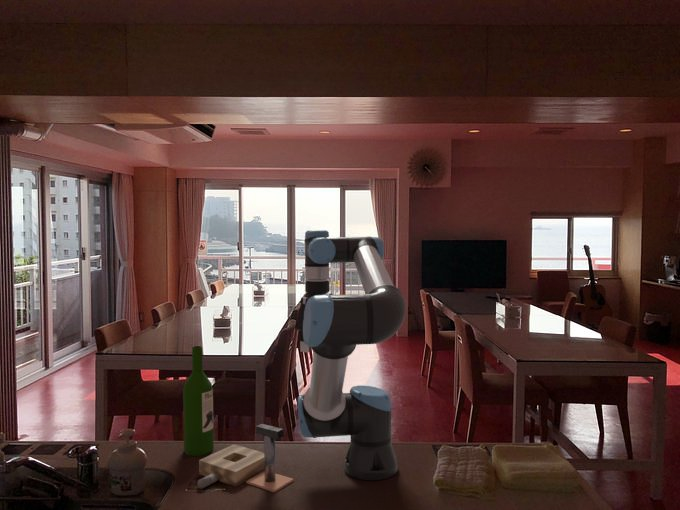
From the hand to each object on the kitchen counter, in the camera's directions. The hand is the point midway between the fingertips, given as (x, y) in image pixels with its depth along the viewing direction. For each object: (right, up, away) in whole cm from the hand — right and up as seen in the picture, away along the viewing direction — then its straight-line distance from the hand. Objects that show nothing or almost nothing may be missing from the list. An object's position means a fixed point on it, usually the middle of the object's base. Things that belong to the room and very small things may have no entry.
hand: (317, 347), depth 178 cm
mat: (-12, -33, -22) cm, 42 cm away
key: (-12, -32, -22) cm, 41 cm away
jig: (-25, -33, -18) cm, 45 cm away
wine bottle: (-37, -32, 0) cm, 49 cm away
